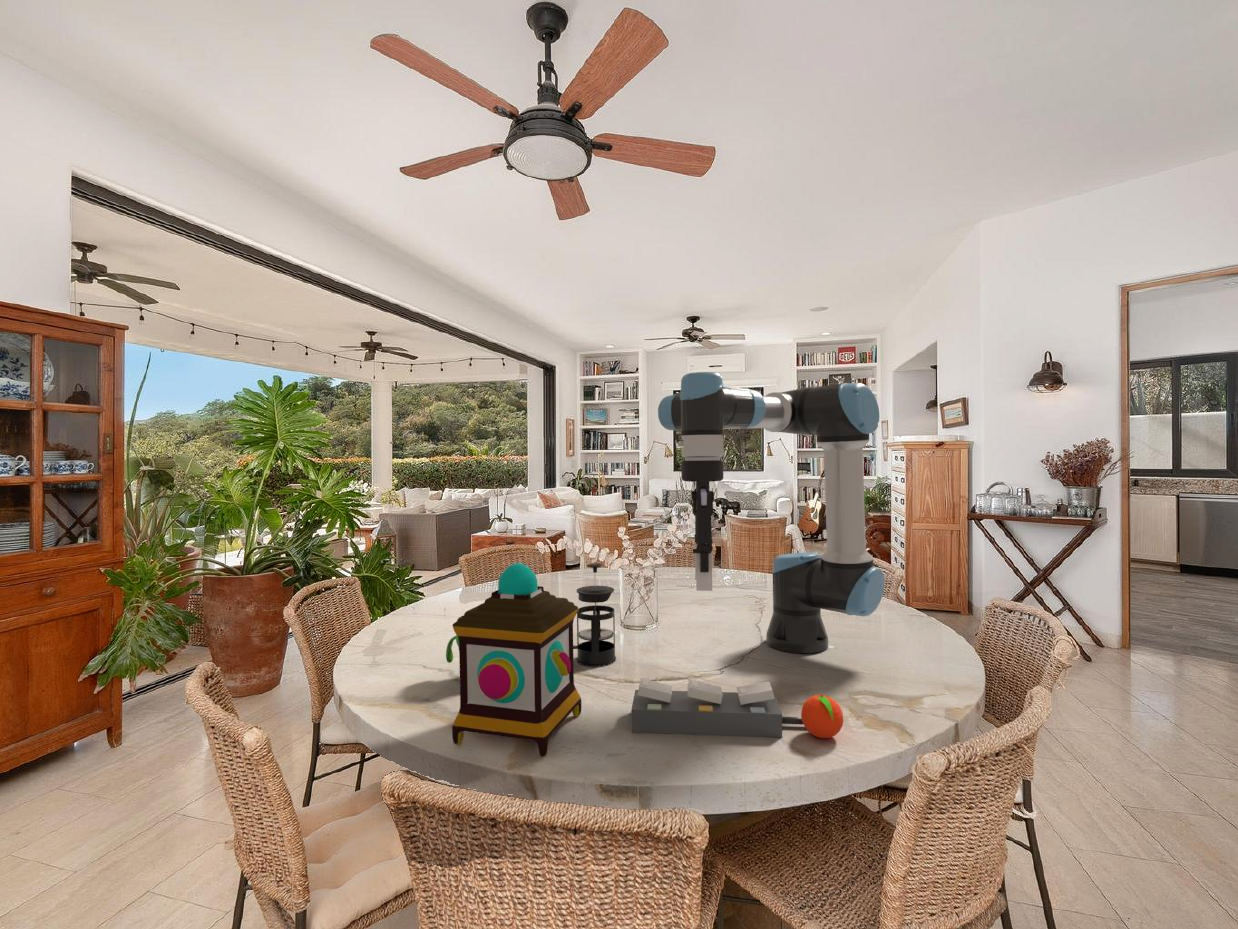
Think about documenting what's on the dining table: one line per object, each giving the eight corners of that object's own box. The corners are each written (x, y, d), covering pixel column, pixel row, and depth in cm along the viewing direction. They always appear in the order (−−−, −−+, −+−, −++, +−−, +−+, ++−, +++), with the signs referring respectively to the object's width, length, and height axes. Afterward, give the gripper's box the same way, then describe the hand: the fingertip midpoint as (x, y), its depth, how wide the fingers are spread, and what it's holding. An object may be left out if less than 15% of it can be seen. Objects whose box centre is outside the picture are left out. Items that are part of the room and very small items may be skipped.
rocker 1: (670, 693, 112) (672, 684, 112) (670, 702, 108) (672, 693, 108) (639, 686, 113) (640, 677, 113) (637, 694, 109) (639, 685, 109)
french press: (618, 653, 149) (617, 560, 148) (618, 666, 139) (617, 567, 139) (571, 653, 149) (569, 560, 148) (567, 667, 139) (566, 568, 139)
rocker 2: (719, 695, 111) (721, 686, 111) (720, 704, 107) (722, 694, 107) (687, 687, 112) (689, 678, 112) (687, 696, 108) (689, 686, 108)
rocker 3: (771, 690, 110) (768, 680, 110) (774, 698, 106) (772, 689, 106) (738, 695, 111) (736, 686, 111) (740, 704, 107) (738, 695, 107)
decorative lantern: (497, 701, 121) (494, 552, 120) (591, 712, 115) (588, 555, 114) (440, 749, 101) (436, 571, 101) (549, 765, 96) (546, 576, 95)
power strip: (807, 715, 112) (807, 692, 112) (818, 738, 103) (817, 713, 103) (635, 710, 115) (635, 688, 115) (631, 732, 107) (631, 708, 106)
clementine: (853, 748, 100) (853, 705, 100) (813, 750, 99) (812, 707, 99) (833, 726, 108) (832, 686, 108) (795, 728, 107) (794, 688, 107)
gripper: (681, 458, 120) (682, 572, 120) (681, 460, 99) (682, 598, 99) (719, 458, 119) (720, 573, 119) (727, 459, 98) (729, 598, 98)
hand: (703, 584), depth 109 cm, fingers open, 8 cm apart
